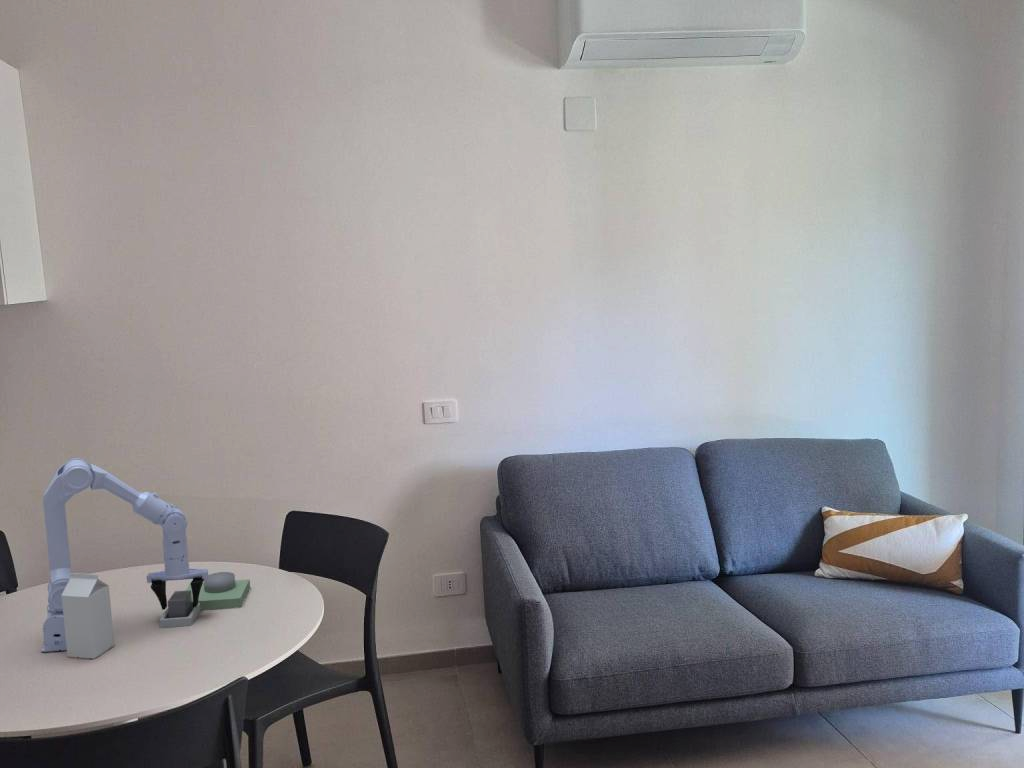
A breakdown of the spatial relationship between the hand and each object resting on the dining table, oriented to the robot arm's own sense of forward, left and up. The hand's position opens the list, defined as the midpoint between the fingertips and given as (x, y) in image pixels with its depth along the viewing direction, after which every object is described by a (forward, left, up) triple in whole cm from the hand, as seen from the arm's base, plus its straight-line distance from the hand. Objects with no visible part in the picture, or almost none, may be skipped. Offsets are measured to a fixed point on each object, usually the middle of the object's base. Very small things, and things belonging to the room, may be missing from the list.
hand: (180, 607), depth 216 cm
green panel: (+7, -5, -3) cm, 9 cm away
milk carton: (-16, +16, -3) cm, 23 cm away
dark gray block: (0, 0, -3) cm, 3 cm away
